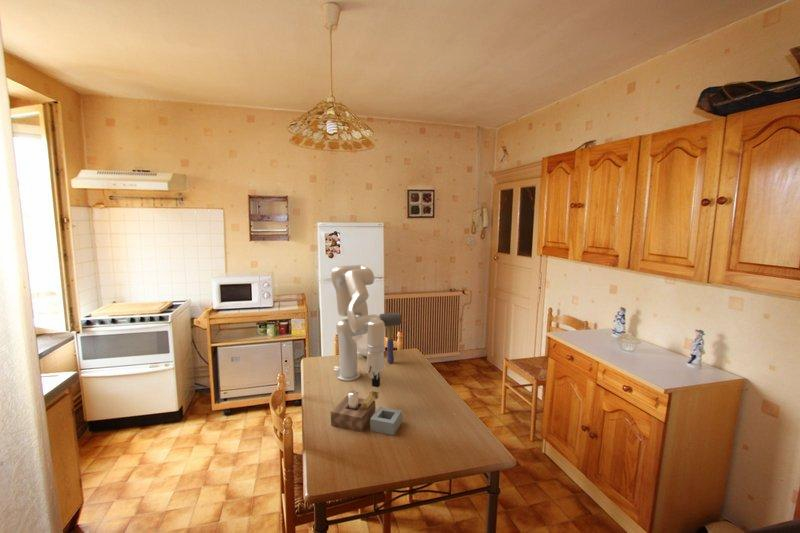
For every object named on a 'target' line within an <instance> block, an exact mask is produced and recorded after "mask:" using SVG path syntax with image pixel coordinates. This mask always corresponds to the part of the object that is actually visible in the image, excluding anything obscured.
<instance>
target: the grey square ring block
mask: <svg viewBox="0 0 800 533" xmlns="http://www.w3.org/2000/svg"><path fill="white" fill-rule="evenodd" d="M375 411H376V412H375V414H374V415H373V416H372V417H371V419H370V422H369V426H370V429H369V430H370V431H371V432H376V433H381V434H384V435H390V436H395V434H396V432H398V431H397V430H398V429H399V427H400V426H401V424H402V423H403V410H400V409H395V408H389V407H383V406H379V407H378V408H377V410H375Z"/></svg>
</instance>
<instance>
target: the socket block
mask: <svg viewBox="0 0 800 533" xmlns="http://www.w3.org/2000/svg"><path fill="white" fill-rule="evenodd" d="M365 399H366V398H360V397H358V410H357V411H355V410H350V409H349V396H348V395H346V396H345V397H344V398H343V399H342V400H341V401H340V402H339V403H338V404H337V405H336V406H335V407H334V408H333V409H332V410H330V425H331V426H333V427H336V428H337V427H339V428H342V429H348V430H352V431H357V432H363V430H365V428H366V427H367V425H368V424H370V419H371V417H372V416H373V415H374V414H375V412H376V411H377V410H376V400H374V401H373V403H372V404H371V405H370V406H369V407H368V408H367V409H364V408H363V404H362V403H363V402H364V400H365Z"/></svg>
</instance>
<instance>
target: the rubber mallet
mask: <svg viewBox="0 0 800 533" xmlns="http://www.w3.org/2000/svg"><path fill="white" fill-rule="evenodd" d="M378 316H379V317H380V319H381V320H382V321H383V322H384V325H385V327H387V332H388V333H387V343H386V344H387V345H386V348H387V358H386V361H387V362H388V363H387V364H393V363H394V361H395V359H394V338H393V327H395V326H400V325H401V324H402V315H401V313H400V312H387V313H380V314H379V315H378Z"/></svg>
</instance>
